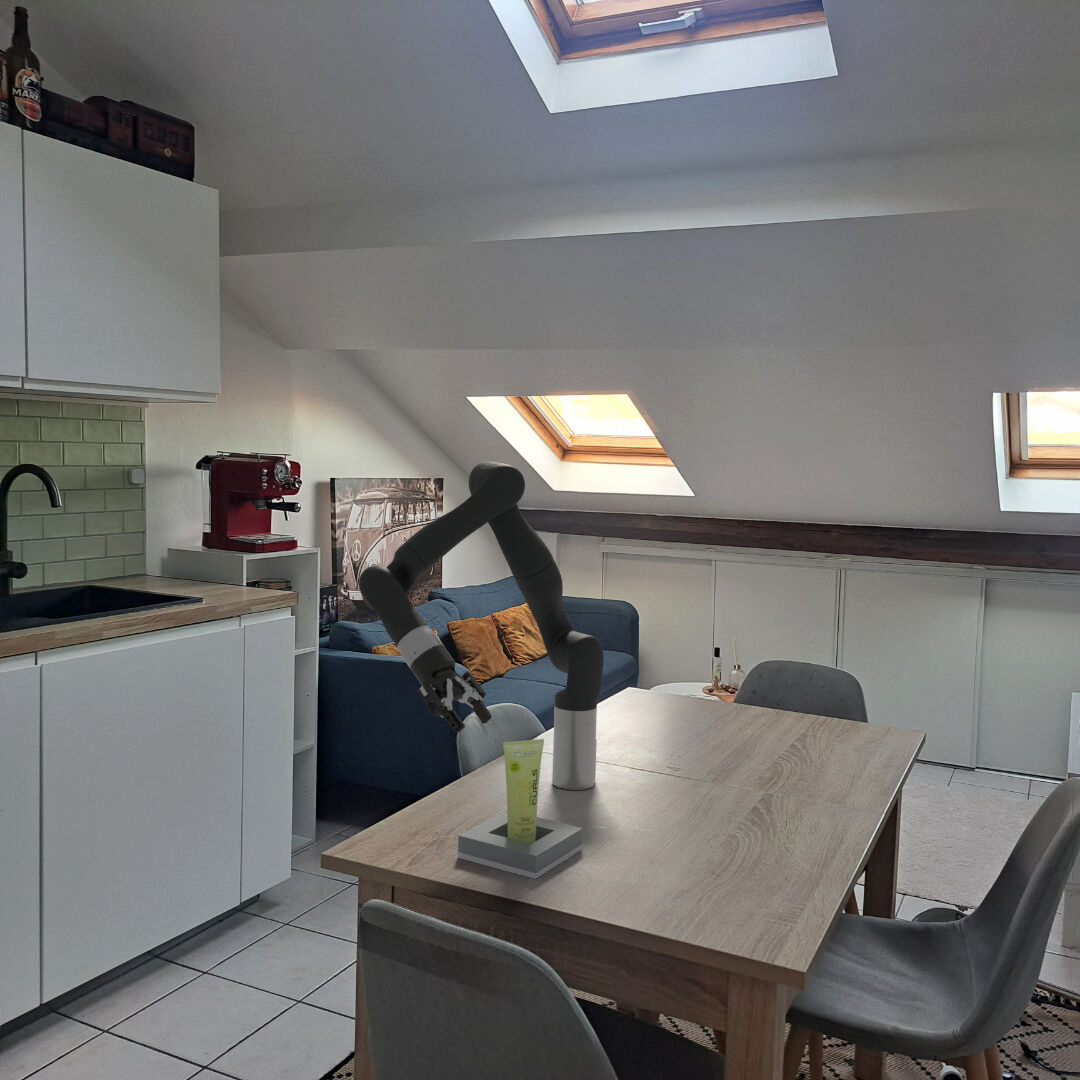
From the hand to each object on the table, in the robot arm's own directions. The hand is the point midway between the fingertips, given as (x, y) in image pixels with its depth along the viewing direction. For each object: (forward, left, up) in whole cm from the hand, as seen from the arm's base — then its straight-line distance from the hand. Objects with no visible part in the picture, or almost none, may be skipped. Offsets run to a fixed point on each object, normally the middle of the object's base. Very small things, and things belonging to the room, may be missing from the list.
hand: (474, 725), depth 182 cm
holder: (0, +11, -21) cm, 24 cm away
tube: (0, +10, -21) cm, 23 cm away
